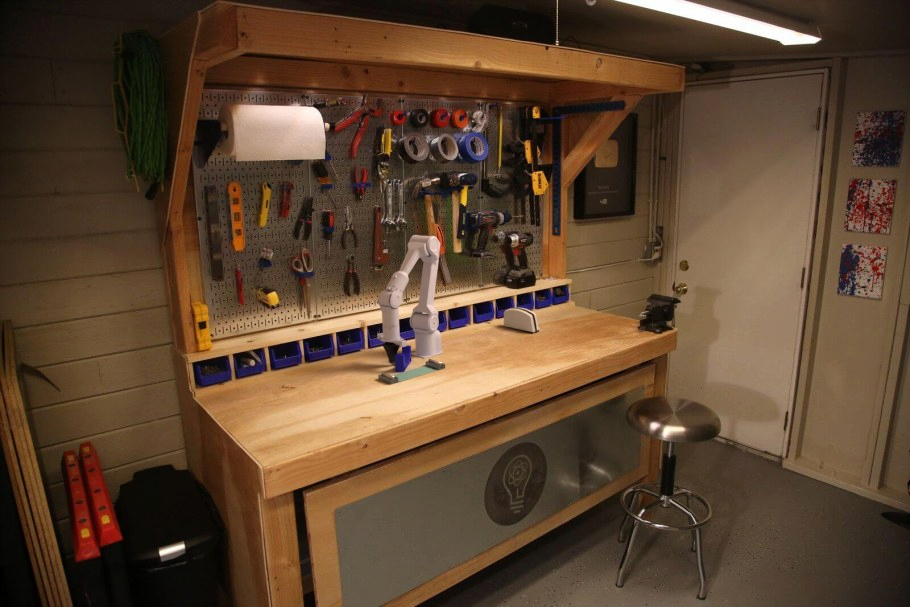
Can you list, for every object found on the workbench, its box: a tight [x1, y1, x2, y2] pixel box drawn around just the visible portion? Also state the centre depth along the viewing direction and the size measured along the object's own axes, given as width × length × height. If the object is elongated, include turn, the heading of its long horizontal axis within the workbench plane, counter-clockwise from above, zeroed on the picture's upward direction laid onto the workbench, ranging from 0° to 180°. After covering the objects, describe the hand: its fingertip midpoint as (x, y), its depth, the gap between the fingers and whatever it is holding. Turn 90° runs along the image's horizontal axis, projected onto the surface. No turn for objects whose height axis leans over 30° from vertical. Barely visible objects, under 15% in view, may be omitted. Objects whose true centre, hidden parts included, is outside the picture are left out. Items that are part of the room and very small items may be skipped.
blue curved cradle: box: [394, 344, 412, 373], centre depth 213 cm, size 12×4×6 cm, turn 172°
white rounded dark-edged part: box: [503, 307, 541, 333], centre depth 257 cm, size 17×5×10 cm, turn 43°
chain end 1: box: [377, 371, 399, 385], centre depth 199 cm, size 3×7×2 cm, turn 42°
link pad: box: [391, 365, 438, 383], centre depth 206 cm, size 16×7×1 cm, turn 132°
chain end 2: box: [424, 358, 446, 371], centre depth 212 cm, size 3×7×2 cm, turn 42°
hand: (392, 362), depth 214 cm, fingers closed, pressing on blue curved cradle
